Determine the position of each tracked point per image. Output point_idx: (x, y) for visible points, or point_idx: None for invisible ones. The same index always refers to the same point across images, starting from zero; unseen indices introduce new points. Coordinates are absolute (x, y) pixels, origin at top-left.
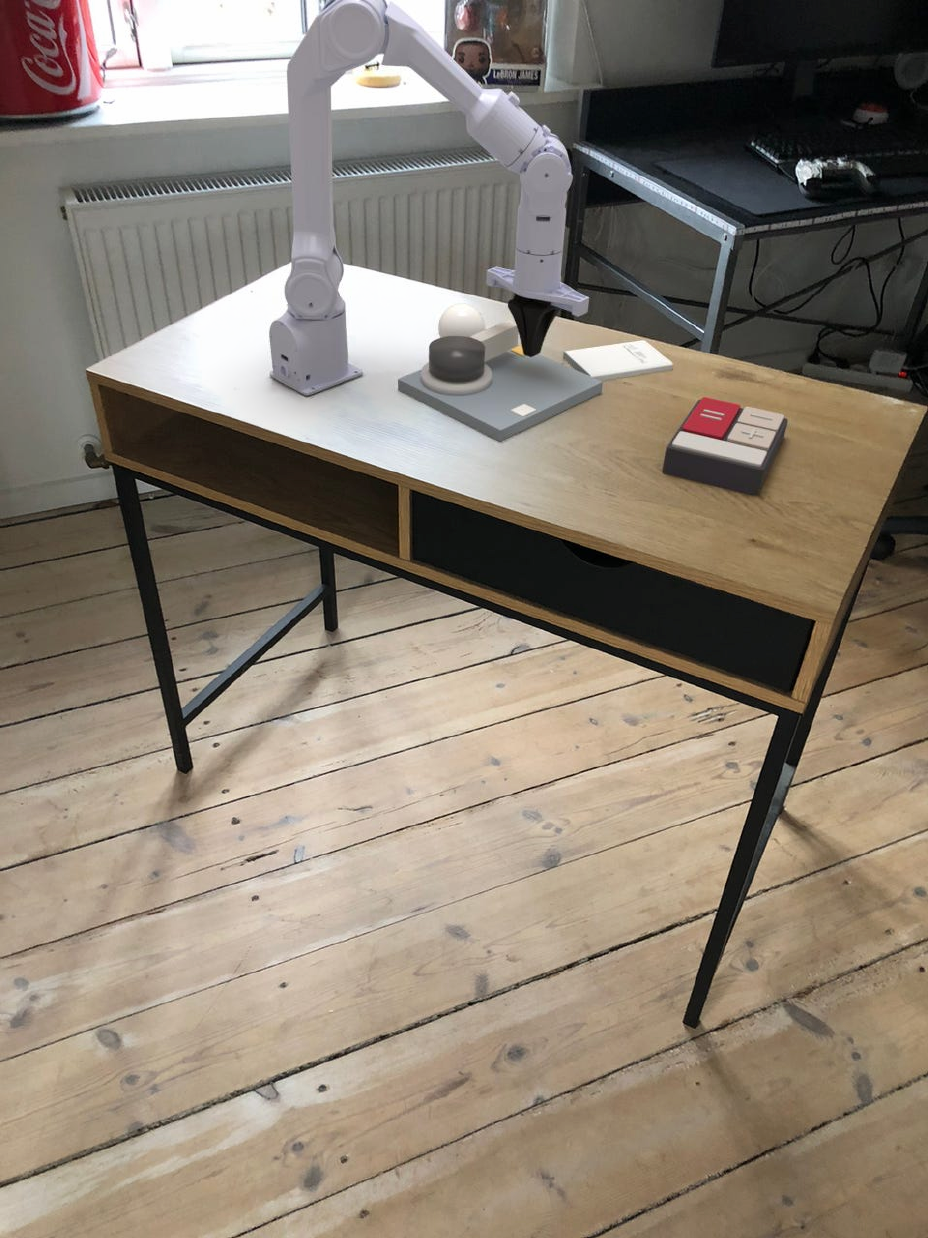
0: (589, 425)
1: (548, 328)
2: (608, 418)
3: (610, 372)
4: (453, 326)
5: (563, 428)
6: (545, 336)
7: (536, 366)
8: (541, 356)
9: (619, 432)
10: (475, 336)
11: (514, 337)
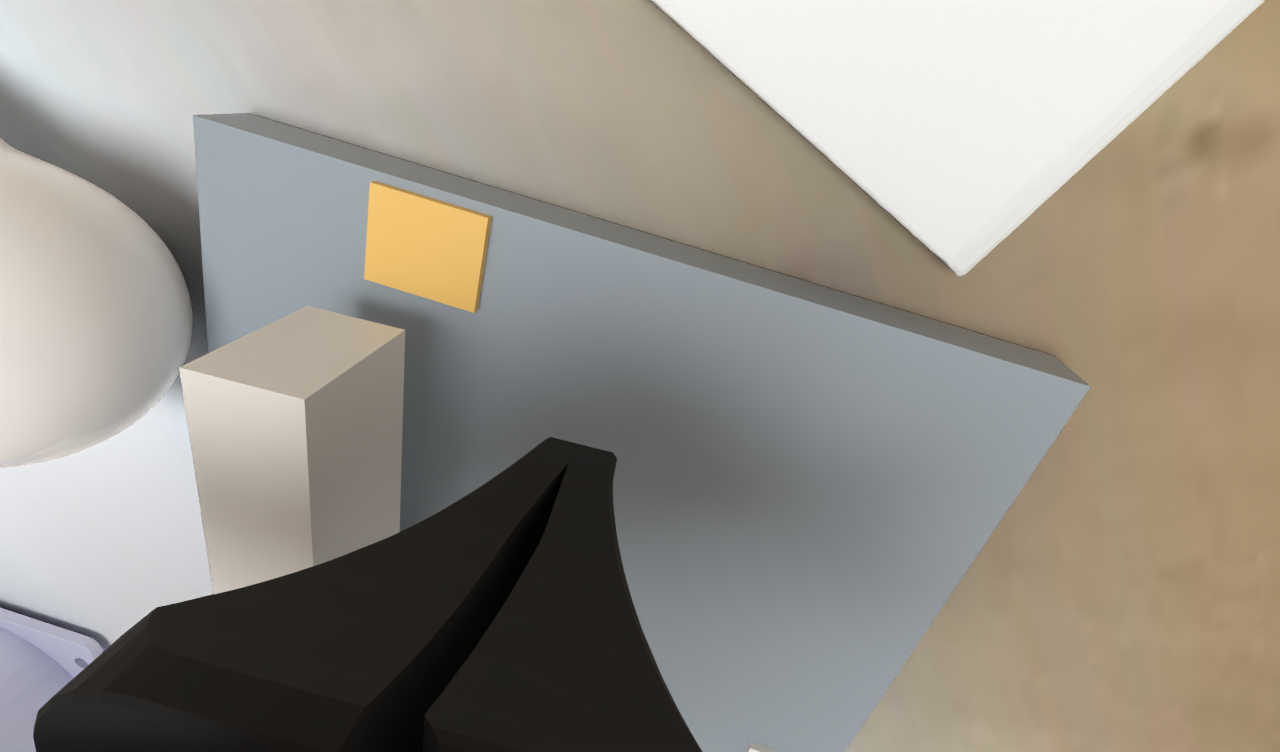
0: (1056, 668)
1: (621, 568)
2: (1145, 588)
3: (1098, 137)
4: (8, 467)
5: (944, 717)
6: (614, 515)
7: (611, 390)
8: (566, 245)
9: (1223, 676)
10: None
11: (364, 400)
